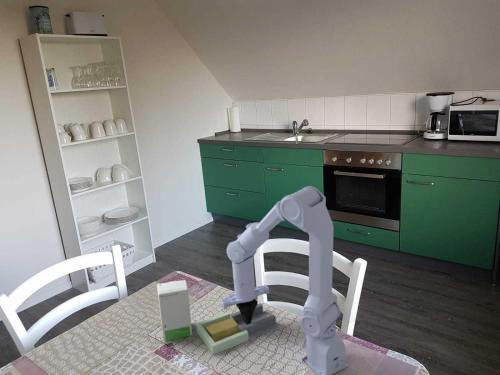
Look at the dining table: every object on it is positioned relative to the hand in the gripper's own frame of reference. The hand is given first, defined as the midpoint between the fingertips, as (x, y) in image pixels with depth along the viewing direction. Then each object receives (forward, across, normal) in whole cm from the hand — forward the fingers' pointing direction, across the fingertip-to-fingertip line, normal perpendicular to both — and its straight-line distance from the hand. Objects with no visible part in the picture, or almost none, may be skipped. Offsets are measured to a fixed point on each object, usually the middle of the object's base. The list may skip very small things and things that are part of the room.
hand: (247, 322), depth 114 cm
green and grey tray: (+2, +3, 0) cm, 4 cm away
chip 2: (+1, +6, 0) cm, 6 cm away
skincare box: (+2, +18, -9) cm, 20 cm away
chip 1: (+1, +10, 0) cm, 10 cm away
